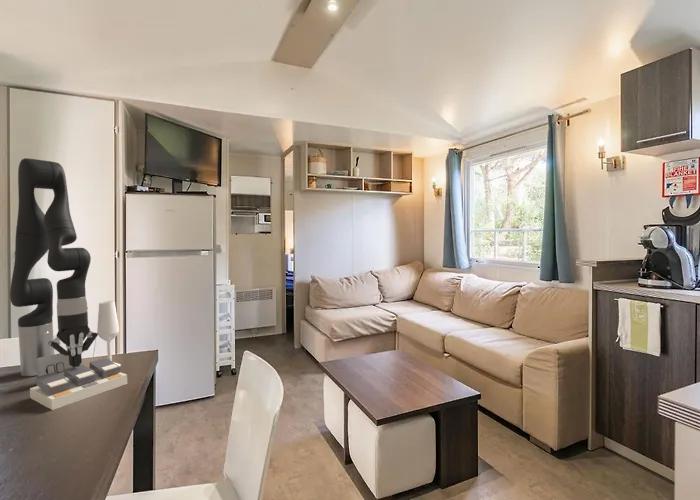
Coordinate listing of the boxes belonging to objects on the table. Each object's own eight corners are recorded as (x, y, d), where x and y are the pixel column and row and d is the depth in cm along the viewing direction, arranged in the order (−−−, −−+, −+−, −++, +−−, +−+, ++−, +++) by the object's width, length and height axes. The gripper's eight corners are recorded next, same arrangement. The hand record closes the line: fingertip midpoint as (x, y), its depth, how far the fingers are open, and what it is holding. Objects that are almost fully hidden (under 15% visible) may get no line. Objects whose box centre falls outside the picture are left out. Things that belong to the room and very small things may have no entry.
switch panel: (30, 398, 108) (29, 385, 107) (104, 375, 125) (103, 364, 125) (52, 410, 100) (51, 397, 100) (127, 383, 117) (127, 372, 117)
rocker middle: (64, 375, 112) (64, 368, 112) (82, 370, 117) (82, 363, 116) (77, 386, 108) (77, 379, 108) (96, 380, 112) (96, 373, 112)
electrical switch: (39, 388, 115) (36, 359, 115) (35, 386, 118) (33, 357, 118) (75, 379, 122) (73, 351, 122) (70, 377, 125) (68, 350, 125)
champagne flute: (97, 371, 128) (94, 304, 127) (99, 366, 134) (96, 301, 133) (120, 368, 131) (117, 302, 130) (121, 362, 137) (118, 299, 136)
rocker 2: (89, 368, 118) (89, 361, 118) (106, 363, 123) (106, 356, 122) (103, 377, 114) (103, 371, 114) (120, 372, 118) (120, 366, 118)
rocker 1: (35, 383, 106) (35, 376, 106) (56, 377, 111) (56, 370, 110) (48, 395, 102) (49, 387, 102) (69, 388, 106) (69, 381, 106)
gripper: (90, 306, 120) (93, 358, 121) (41, 314, 109) (44, 371, 110) (101, 308, 116) (104, 361, 117) (51, 317, 105) (55, 375, 106)
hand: (75, 366), depth 113 cm, fingers closed
